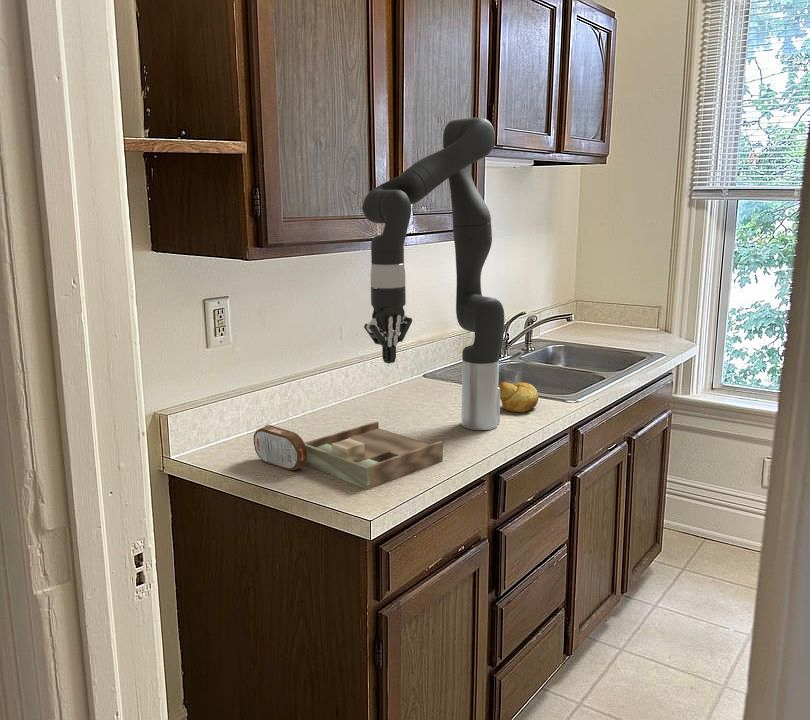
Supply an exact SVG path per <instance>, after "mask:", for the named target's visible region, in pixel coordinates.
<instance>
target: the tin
mask: <svg viewBox="0 0 810 720" xmlns="http://www.w3.org/2000/svg"><path fill="white" fill-rule="evenodd" d="M253 446H254V450H255V453H256V456H258V458H259V460H261V461H262V462H264V463H266V464H269V465H272V466H274V467H277V468H281V469H284V470H286V471H291V472H292V471H295V470H298V469H300V468H303V467H304V466H306V465H305V464H306V462H307V449H306V446H305V442H304V440H303V439H302V437H301V436H300V435H299V434H298V433H296V432H294V431H290V430H288V429H284V428H280V427H278V426H275V425H271V424H268V425H264V426H262V427H260V428H258V429H257V430H256V431H255V432H254V434H253Z"/></svg>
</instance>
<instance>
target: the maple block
mask: <svg viewBox="0 0 810 720" xmlns="http://www.w3.org/2000/svg"><path fill="white" fill-rule="evenodd" d="M331 446H332V454H335V455H338V456H340V457H343V458H346V459H348V460H351V461H354V460H357V459H360V458H363V457H365V449H364V443H361V442H358V441H355V440H352V439H345V440H342V441H339V442H336V443H332V444H331Z"/></svg>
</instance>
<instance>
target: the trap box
mask: <svg viewBox="0 0 810 720" xmlns="http://www.w3.org/2000/svg"><path fill="white" fill-rule="evenodd" d="M379 424H380V423H379V421H373V422H370V423H366V424H363V425H360V426H359V425H358V426H357V427H356V426H355V427H353V428H350V429H347V430H342V431H340V432H337V433H333V434H329V435H326V436H323V437H319V438H316V439H312V440H308V441H306V442H304V443H305V446H306V449H307V462H306V464H305V465H304V466H308V467H310V468H313V469H315V470H317V471H320V472H322V473H326V474H328V475H331V476H333V477H335V478H338V479H340V480H343V481H345V482H348V483H351V484H353V485H355V486H357V487H359V488H363V489H365V490H369V489H372V488H374V487H376V486H380V485H382V484H385V483H387V482H390V481H393V480H395V479H398V478H401V477H404V476H406V475H409V474H411V473H414V472H417V471H420V470H422V469H425V468H428V467H430V466H434V465H436V464H439V463H442V462H443V461H444V460H443V459H444V458H443V457H444V456H443V454H444V453H443V452H444V442H443V441H442V440H440V441H436V442H433V443H431V444H430V443H426V442H423V441H421V440H417V439H414V438H411V437H408V436H405V435H402V434H398V433H395V432H392V431H389V430H386V429H383V428H382V429H381V428H379V427H380V425H379ZM345 439H352V440H355V441H358V442H361V443H364V449H365V457H363V458H360V459H357V460H354V461H351V460H348V459H346V458H343V457H340V456H338V455H335V454H332V446H331V444H332V443H336V442H339V441H342V440H345Z"/></svg>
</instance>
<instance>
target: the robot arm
mask: <svg viewBox="0 0 810 720" xmlns="http://www.w3.org/2000/svg"><path fill="white" fill-rule="evenodd" d="M442 135H443V136H442V145H443V149H440V150H439V151H436V152H434V153H432V154H429V155H427V156H425V157H423V158H421V159H420V160H417V161H416V162H415V163H413V164H411V166H410V167H408V168H407V169H406V170H404V171H403V172H402V173H400V175H398V176H396V177H394V178H391V179H390V180H387V181H385V182H383V183H382V184H379V185H378V186H375V188H373V189H371V190H370V191H369V192H368V193H367V194H366V195H365V198H364V199H363V202H362V213H363V215H364V217H365V219H367V220H368V221H369V222H371V223H375V224H384V228H383V231H382V234H380V235H375V236H374V237H373V238H372V239H371V242H370V252H371V253H370V254H371V255H370V256H371V260H370V261H371V266H370V305H371V306H372V308H373V312H372V315H371V318H372V319H371V320H370V321H369V323H364V325H363V328H364V330H365V331H366V332H367V334H368V336H369V337H370V338H371V340H372V341H373V343H374V344H375V345H378V346H379V345H380V346H381V347H382V353H381V354H382V360H383V363H385V364H393V363H395V362H396V360H397V345H398V343H402V342H403V341H404V339H405V337H406V335H407V333H408V331H409V329H410V326H411V325H412V322H413V318H412V317H408V316H407V315H406V312H405V309H404V306H405V305H406V303H407V301H406V300H407V299H406V292H407V291H406V269H405V251H404V250H405V240H406V238H407V235H408V234H407V233H408V229H409V224H410V221H411V216H412V205H413V204H416V203H419V202H420V201H421V200H423V199H424V198H426V196H428V195H429V194H430V193H431V192H433V191H434V190H435V189H436V188H438V187H439V186H440V185H442V183H443V182H444V183H445V181H447V180H448V182H449V183H448V185H449V193H450V202H451V213H452V228H453V229H452V231H453V241H454V251H455V252H454V253H455V268H456V269H455V273H456V290H455V291H456V295H455V298H456V299H455V301H456V302H455V313H456V314H455V315H456V320H457V323H458V325H459V327H460V328H462V329H463V330H465V331H467V332H472V333H474V340H473V344H472V345H468V346H465V347H463V349H462V352H461V353H462V355H461V358H462V359H461V360H462V361H461V420H460V422H461V423H460V424H461V426H462V428H464V429H468V430H474V431H489V430H493V429H495V428H497V427H498V425H499V424H500V423H501V422H500V421H501V420H500V419H501V418H500V417H501V416H500V415H501V399H500V388H499V387H498V385H499V383H500V382H499V378H500V376H499V373H500V368H499V367H500V353H501V351H502V349H503V344H504V332H505V331H504V328H505V310H504V307H503V304H502V302H501V301H500V300H498V299H497V298H495V297H490V296H484V295H483V294H482V286H481V283H482V282H481V279H482V278H481V276H482V271H483V267H484V265H485V263H486V260H487V258H488V256H489V253H490V251H491V247H492V243H493V232H492V218H491V213H490V210H489V208H488V206H487V204H486V202H485V200H484V198H483V197H482V195H481V193H480V192H479V190H478V189H477V187H476V185H475V182H474V180H473V176H472V169H471V165H472V164H475V163H476V162H477V161H479V160H482V159H483V158H486V157H487V156H488V155H489V154H490V153H491V152H492V151H493V149H494V147H495V142H496V132H495V128H494V126H493V125H492V123H491V122H490V120H488V119H486V118H483V117H469V118H460V119H454V120H451V121H449V122H447V124H446V126H445V127H444V130H443V134H442Z"/></svg>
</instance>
